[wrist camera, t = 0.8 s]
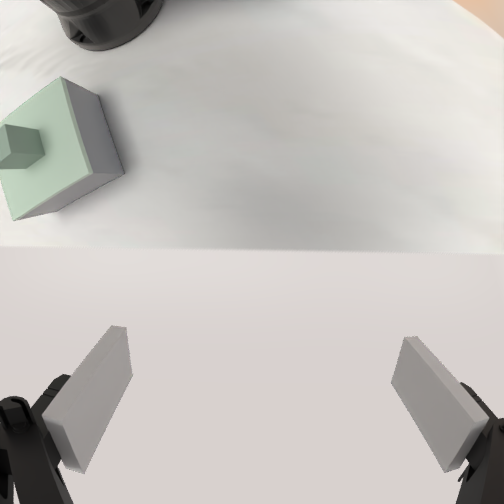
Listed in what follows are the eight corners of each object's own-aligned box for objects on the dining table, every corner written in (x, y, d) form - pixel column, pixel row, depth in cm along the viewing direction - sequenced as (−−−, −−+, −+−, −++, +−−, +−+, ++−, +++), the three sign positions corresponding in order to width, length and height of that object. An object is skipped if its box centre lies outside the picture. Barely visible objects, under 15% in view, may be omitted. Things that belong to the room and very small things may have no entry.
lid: (3, 133, 30) (-44, 129, 21) (73, 82, 29) (29, 61, 20) (27, 217, 32) (-21, 229, 23) (101, 173, 31) (57, 173, 23)
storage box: (33, 137, 37) (-6, 132, 28) (97, 95, 36) (64, 78, 27) (56, 211, 39) (18, 220, 30) (124, 173, 38) (93, 173, 29)
